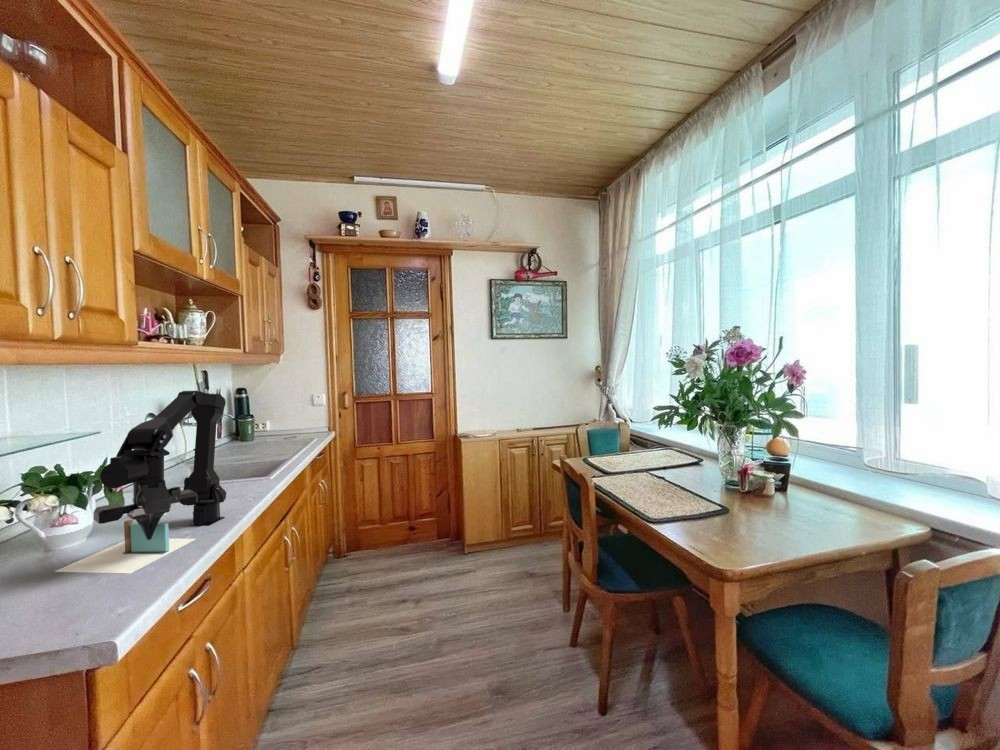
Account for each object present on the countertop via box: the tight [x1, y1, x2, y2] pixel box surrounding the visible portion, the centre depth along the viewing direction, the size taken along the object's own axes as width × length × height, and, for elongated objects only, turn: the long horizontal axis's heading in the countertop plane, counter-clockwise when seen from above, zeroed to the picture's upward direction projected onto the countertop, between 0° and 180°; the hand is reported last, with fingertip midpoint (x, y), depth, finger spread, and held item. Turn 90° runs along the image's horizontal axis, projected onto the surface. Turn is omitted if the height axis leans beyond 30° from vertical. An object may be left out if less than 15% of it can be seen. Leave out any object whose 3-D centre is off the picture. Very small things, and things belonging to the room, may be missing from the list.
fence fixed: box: [123, 519, 161, 553], centre depth 105 cm, size 9×2×8 cm, turn 176°
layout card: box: [54, 537, 196, 574], centre depth 100 cm, size 18×19×1 cm
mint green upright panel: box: [130, 522, 170, 552], centre depth 101 cm, size 9×1×7 cm, turn 89°
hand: (148, 539), depth 98 cm, fingers closed
